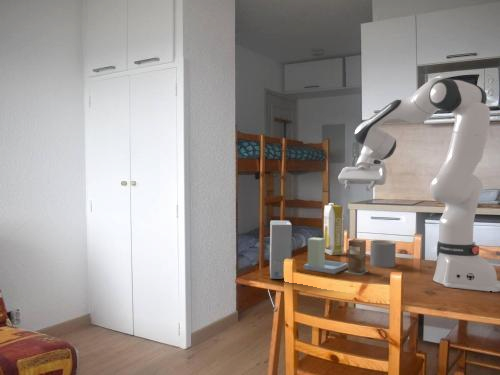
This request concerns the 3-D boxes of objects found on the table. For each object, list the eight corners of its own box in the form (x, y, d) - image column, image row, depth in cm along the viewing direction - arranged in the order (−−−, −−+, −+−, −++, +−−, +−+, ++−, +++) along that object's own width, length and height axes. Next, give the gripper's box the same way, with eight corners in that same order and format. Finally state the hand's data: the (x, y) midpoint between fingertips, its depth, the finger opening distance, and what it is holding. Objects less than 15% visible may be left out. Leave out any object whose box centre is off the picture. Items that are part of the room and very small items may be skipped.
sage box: (324, 268, 177) (325, 238, 176) (318, 270, 173) (319, 240, 172) (313, 266, 180) (313, 237, 179) (307, 269, 176) (307, 238, 175)
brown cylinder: (365, 271, 172) (365, 240, 172) (360, 273, 168) (361, 242, 168) (353, 269, 175) (353, 239, 175) (348, 271, 171) (348, 240, 171)
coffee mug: (384, 269, 178) (385, 244, 177) (365, 265, 186) (365, 241, 185) (405, 265, 185) (405, 241, 185) (385, 261, 193) (386, 238, 193)
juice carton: (321, 252, 213) (322, 202, 212) (336, 251, 215) (337, 202, 214) (330, 256, 204) (330, 204, 203) (345, 255, 206) (346, 203, 205)
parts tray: (347, 268, 179) (348, 263, 179) (334, 275, 168) (334, 269, 168) (318, 264, 186) (318, 259, 186) (303, 270, 176) (303, 264, 176)
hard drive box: (291, 279, 161) (292, 225, 160) (270, 279, 161) (270, 224, 160) (288, 269, 176) (289, 219, 175) (269, 269, 176) (269, 219, 176)
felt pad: (369, 272, 173) (369, 270, 173) (361, 276, 167) (361, 274, 167) (352, 269, 177) (352, 268, 177) (344, 273, 171) (344, 272, 171)
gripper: (341, 161, 198) (332, 184, 191) (387, 161, 187) (378, 185, 179) (345, 171, 202) (336, 193, 195) (390, 172, 190) (382, 195, 183)
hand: (357, 189), depth 187 cm, fingers open, 8 cm apart
